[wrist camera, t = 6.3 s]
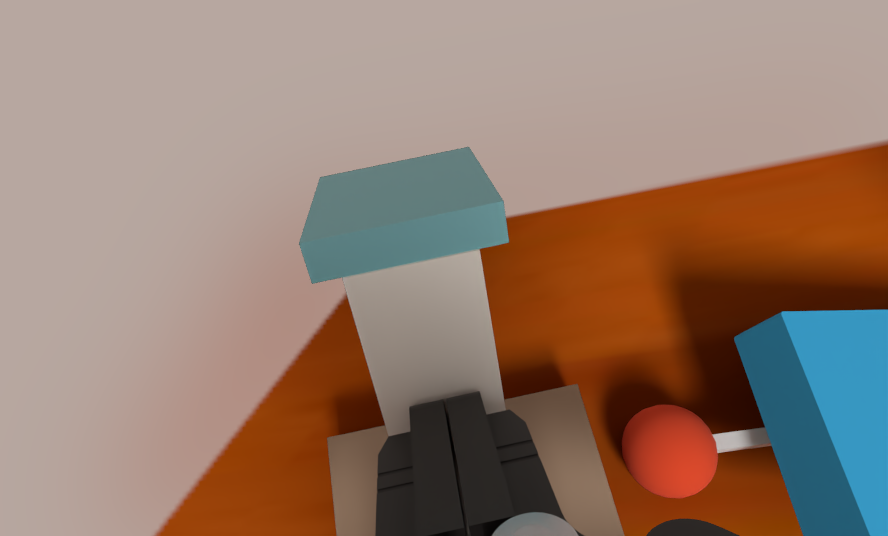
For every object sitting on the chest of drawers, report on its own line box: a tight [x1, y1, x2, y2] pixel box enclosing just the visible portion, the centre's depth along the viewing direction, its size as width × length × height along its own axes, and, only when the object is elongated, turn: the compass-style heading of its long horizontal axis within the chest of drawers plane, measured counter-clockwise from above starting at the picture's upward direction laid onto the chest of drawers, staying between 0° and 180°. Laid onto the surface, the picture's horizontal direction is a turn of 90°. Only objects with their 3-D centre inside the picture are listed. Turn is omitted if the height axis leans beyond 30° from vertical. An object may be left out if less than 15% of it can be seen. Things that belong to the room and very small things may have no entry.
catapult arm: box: [299, 147, 509, 454], centre depth 15 cm, size 4×4×14 cm
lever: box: [622, 310, 888, 536], centre depth 21 cm, size 7×7×18 cm
